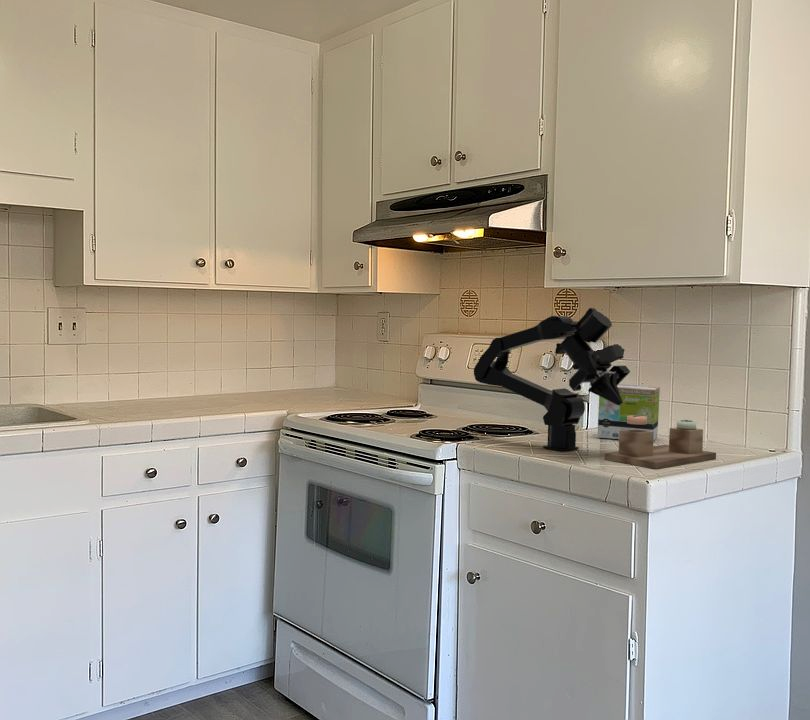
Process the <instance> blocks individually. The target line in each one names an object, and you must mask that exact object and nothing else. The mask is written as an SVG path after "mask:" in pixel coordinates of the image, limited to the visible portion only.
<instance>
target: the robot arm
mask: <svg viewBox="0 0 810 720" xmlns="http://www.w3.org/2000/svg"><path fill="white" fill-rule="evenodd" d="M612 326H613V325H612V322H611V320H610V319H609V317H607V316H605V315H604V314H603V313H602V312H600V311H597V309H596V308H595V307H589V308H588V309H587V310H586V311H585V314H584V315H582V317H581V319H579V320H578V321H573V319H572V318H571V317H570V316H566V315H551V316H548V317H547V318H545V319H543V320H541V321H540V322H539V323H537V324H536V325H535V326H532V327H529V328H527V329H523V330H521V331H517V332H513V333H511V334H510V333H509V334H508V335H507V334H506V335H505V336H500V337H495V338H494V339H493V340H491V342H490V344H489V346H488V348H487V349H486V350H485V351H484V352H483V353H482V355H481V356H480V357H479V359H478V361H477V362H476V364H475V366H474V368H473V376H474V379H475V381H476V382H478V383H480V384H484V385H487V386H488V385H489V386H494V387H495V386H497V387H502V388H503V389H506V390H508V391H511V392H512V393H514V394H517V395H518V396H519V395H520V396H521V397H523V398H524V399H525V398H526V399H528V400H530V401H532V402H534V403H536V404H538V405H541V406H543V407H544V408H545V410H546V411H547V412H546V413H545V414H543V416H542V420H543V423H544V425H545V426H547V444H545V445H542V446H543V448H544V449H550V450H555V451H559V452H565V451H573V450H579V449H580V448H579V446H576V444H577V432H576V425H578V424H579V422H580V420H581V417H582V416H583V415H584V413H585V411H586V406H585V405H586V404H585V402H584V399H583V398H582V397H580V396H579V395H580V394H579V393H575V392H576V391H581V390H582V385H581V384H589V383H590V384H589V386H590V387H589V388H588V392H589V393H593V394H594V395H597V396H598V397H599V396H601V397H603V398H605V399H607V400H609V401H611V402H612V403H614V404H616V405H621V404H622V403H623V401H622V399H621V396H620V393H619V390H618V387H617V385H618V384H620V383H622V381H623V380H624V379H625V378H626V377H627V376H629V374H630V373H631V370H630V369H629V367H628V366H627V365H613V366H612V364H611V363H613V362H615V361H618V360H622V359H624V357H625V356H624V355H625V348H623V347H622V345H619V344H618V343H614V344H612V345H608V346H606V347H604V348H602V349H599V350H593V348H592V347H591V346H590V343H598V341H599V340H600V339H601V338H602V337H603V336H604V335H606V332H608V331H609V329H611V328H612ZM553 340H562V342H560V343H559V342H557V343H556V348H555V351H554V353H555V355H565V354H566V356H568V358H569V360H570V361H571V362H572V364H573V365H572V369H573V370H574V371H575V370H576V371H575V373H574V374H573V375H572V376H571V377H570V378H569V379H568V386H569V387H570V389H571V390H572V391H573V392H572V391H571V390H569V389H567V388H556V389H552V390H550V389H549V388H546V387H544V386H541V385H539V384H537V383H534V382H532V381H530V380H528V379H525V378H523V377H521V376H519V375H517V374H515V373H512V372H511V371H510V369H509V368H508V367H507V366H508V363H509V356H510V352H511V351H513V350H516V349H519V348H522V347H527V346H528V345H529V346H530V345H532V344H536V343H540V342H543V341H553ZM608 369H609V370H608Z"/></svg>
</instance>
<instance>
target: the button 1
mask: <svg viewBox="0 0 810 720" xmlns="http://www.w3.org/2000/svg"><path fill="white" fill-rule="evenodd" d="M627 423H628V424H637V425H644V424H647V417H646V416H641V415H629V416H627Z"/></svg>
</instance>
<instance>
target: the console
mask: <svg viewBox="0 0 810 720" xmlns="http://www.w3.org/2000/svg"><path fill="white" fill-rule="evenodd" d="M668 432H669V434H668V435H669V436H668V437H669V438H668V439H669V440H668V444H660V445H655V446H654V441H653V439H654V432H653V431H646V430H639V429H627V430H619V439H618V451H610V452H604V460H605V461H611V462H617V463H619V464H620V463H621V464H627V465H631V466H636V467H642V468H646V469H652V470H659V469H660V470H661V469H665V468H672V467H676V466H684V465H687V464H694V463H699V462H700V463H701V462H705V461H712V460H716V459H717V452H715V451H708V450H707V451H706V450H703V449H704V448H703V443H704V429H703V428H697V427H696V429H680V428H677V426H676V427H669V431H668Z"/></svg>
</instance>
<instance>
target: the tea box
mask: <svg viewBox="0 0 810 720" xmlns="http://www.w3.org/2000/svg"><path fill="white" fill-rule="evenodd" d="M617 387H618V390H619V393H620V396H621V399H622V401H623V403H622V404H621V405H616V404H614V403H612V402H611V401H609V400H607V399H605V398H603V397H601V396H598V414H597V416H598V417H597V438H598V439H613V440H619V430H627V429H639V430H646V431H653V432H654V439H653V442H654V441H656V439H657V438H658V433H659V432H658V431H659V430H658V429H659V413H660V412H659V411H660V409H659V408H660V390H661V389H660V386H649V385H648V386H647V385H646V386H645V385H633V384H620V383H619V384H618V385H617ZM629 415H641V416H646V417H647V424H644V425H637V424H628V423H627V416H629Z"/></svg>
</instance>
